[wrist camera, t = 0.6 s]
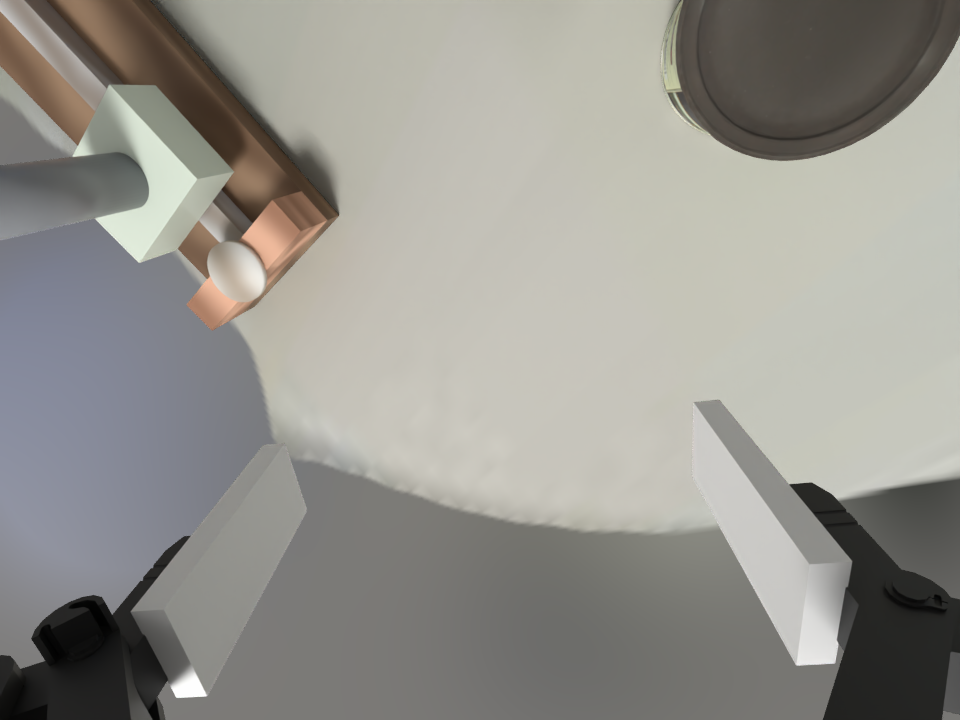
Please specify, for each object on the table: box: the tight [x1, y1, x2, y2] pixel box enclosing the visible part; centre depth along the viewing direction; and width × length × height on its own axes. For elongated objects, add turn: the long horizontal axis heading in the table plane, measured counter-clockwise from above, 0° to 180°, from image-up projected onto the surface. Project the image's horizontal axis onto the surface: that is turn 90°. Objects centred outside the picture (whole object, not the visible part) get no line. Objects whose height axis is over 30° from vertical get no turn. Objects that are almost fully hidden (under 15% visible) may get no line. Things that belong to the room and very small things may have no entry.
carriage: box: [0, 85, 234, 263], centre depth 35 cm, size 10×8×16 cm
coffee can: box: [661, 0, 960, 161], centre depth 27 cm, size 10×10×14 cm
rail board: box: [0, 0, 339, 330], centre depth 42 cm, size 14×38×7 cm, turn 42°
